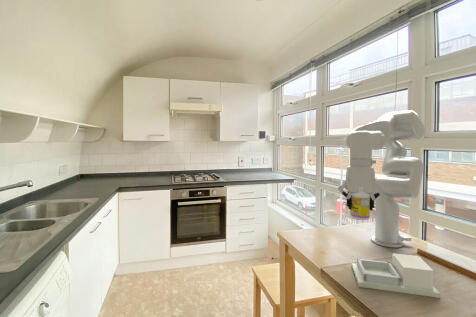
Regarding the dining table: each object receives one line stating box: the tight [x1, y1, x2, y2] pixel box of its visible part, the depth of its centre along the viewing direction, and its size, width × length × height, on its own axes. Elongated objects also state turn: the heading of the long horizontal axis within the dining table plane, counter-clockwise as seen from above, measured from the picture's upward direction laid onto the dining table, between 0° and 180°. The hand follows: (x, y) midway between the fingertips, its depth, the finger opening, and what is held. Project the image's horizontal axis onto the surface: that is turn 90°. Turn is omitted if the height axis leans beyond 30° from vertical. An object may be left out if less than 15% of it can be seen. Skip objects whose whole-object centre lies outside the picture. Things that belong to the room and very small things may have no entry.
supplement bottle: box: [349, 187, 371, 221], centre depth 90 cm, size 7×7×13 cm
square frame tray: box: [351, 253, 441, 299], centre depth 79 cm, size 22×13×8 cm, turn 74°
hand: (359, 208), depth 90 cm, fingers closed on supplement bottle, 6 cm apart
